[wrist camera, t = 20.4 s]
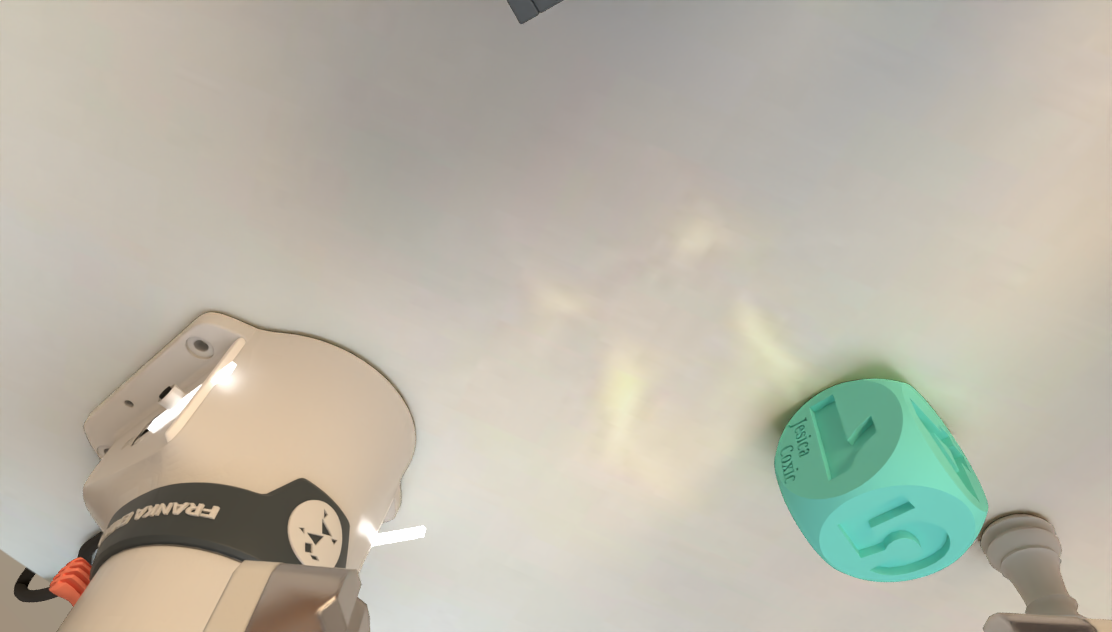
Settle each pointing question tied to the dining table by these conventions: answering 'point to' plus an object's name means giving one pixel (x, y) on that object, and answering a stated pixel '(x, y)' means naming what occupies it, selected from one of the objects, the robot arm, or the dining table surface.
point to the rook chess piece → (1030, 562)
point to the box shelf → (530, 8)
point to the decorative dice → (878, 482)
